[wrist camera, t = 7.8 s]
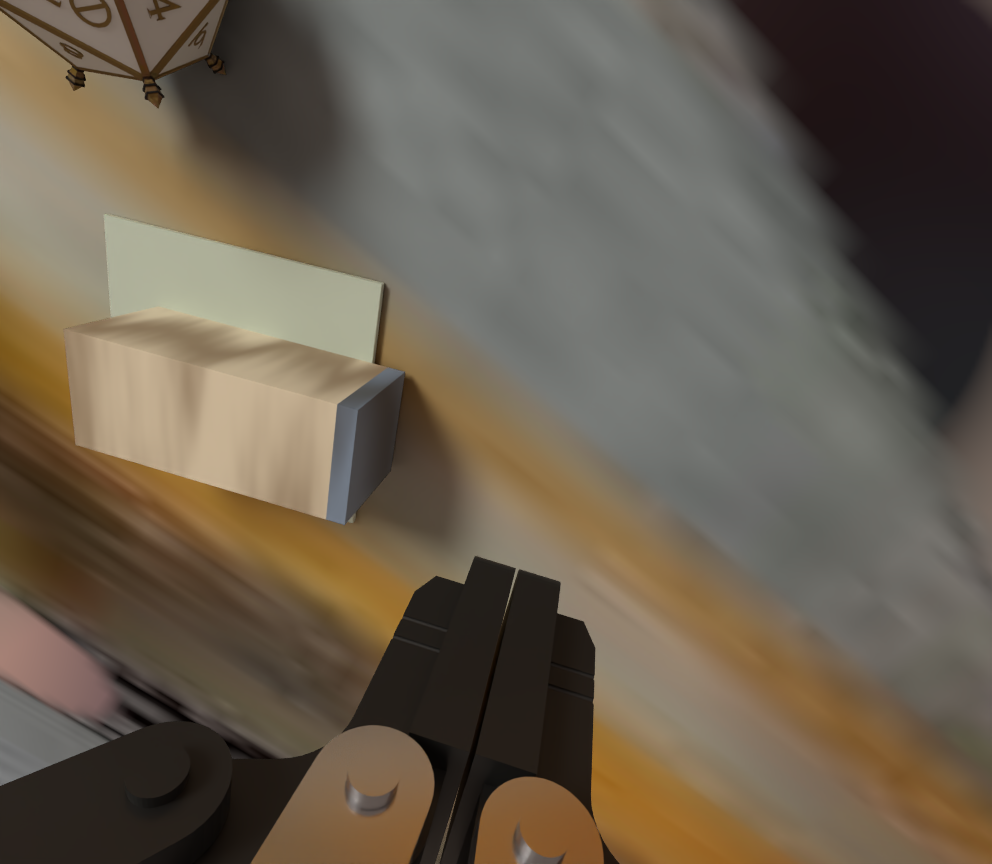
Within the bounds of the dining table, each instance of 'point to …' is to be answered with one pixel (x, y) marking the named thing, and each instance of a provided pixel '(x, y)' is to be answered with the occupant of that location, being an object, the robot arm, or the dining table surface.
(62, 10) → the game die
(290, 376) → the birch block
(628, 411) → the dining table surface
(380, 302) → the board
